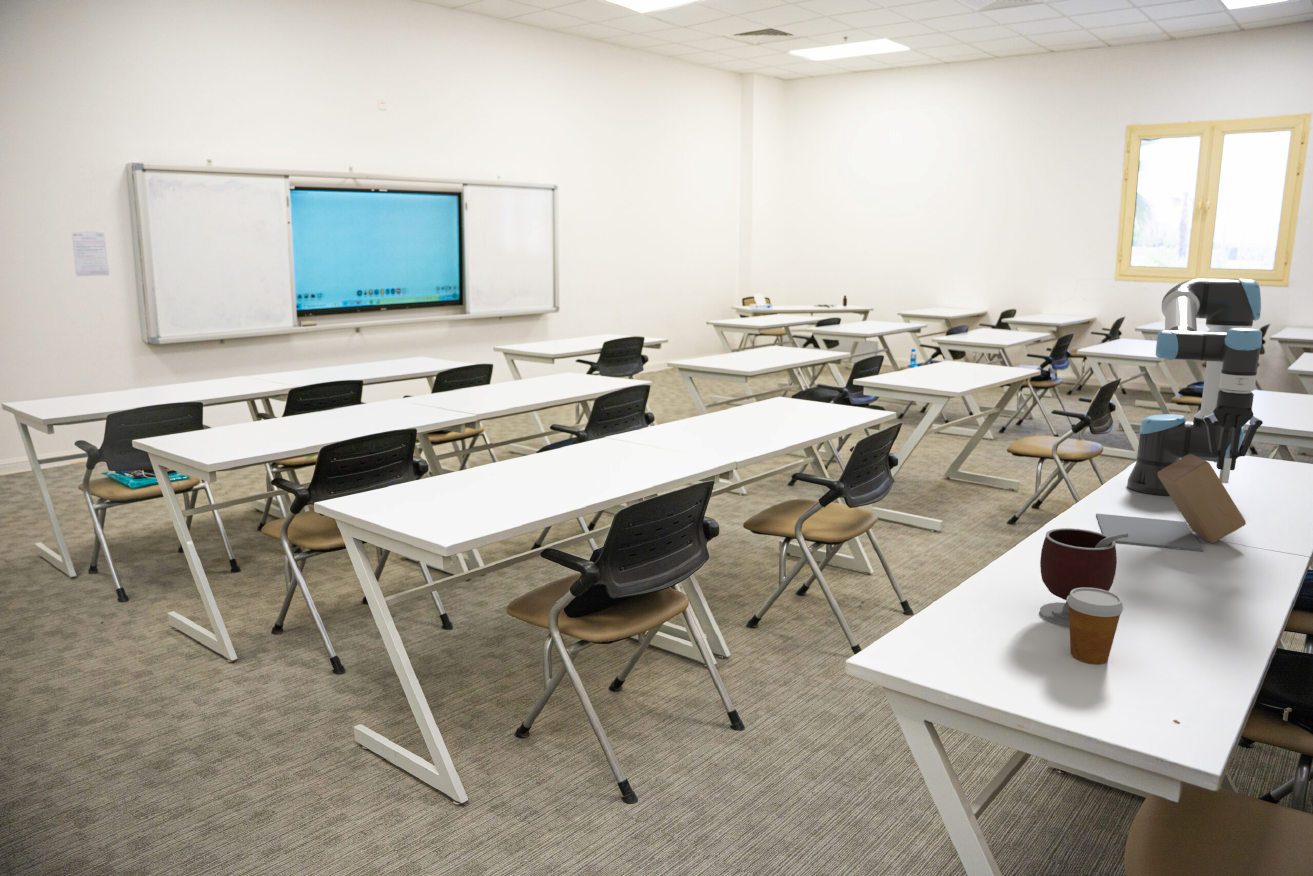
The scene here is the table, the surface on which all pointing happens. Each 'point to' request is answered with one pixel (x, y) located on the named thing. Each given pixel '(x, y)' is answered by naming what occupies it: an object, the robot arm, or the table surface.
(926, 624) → the table surface
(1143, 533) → the mat
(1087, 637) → the disposable coffee cup
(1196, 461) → the wooden block
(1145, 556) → the table surface
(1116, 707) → the table surface
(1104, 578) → the mate gourd
